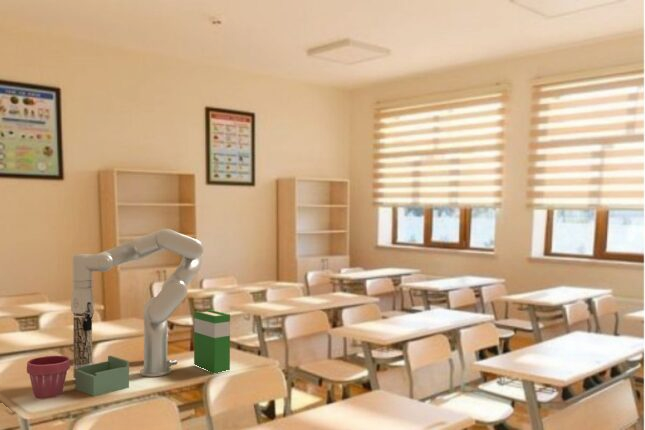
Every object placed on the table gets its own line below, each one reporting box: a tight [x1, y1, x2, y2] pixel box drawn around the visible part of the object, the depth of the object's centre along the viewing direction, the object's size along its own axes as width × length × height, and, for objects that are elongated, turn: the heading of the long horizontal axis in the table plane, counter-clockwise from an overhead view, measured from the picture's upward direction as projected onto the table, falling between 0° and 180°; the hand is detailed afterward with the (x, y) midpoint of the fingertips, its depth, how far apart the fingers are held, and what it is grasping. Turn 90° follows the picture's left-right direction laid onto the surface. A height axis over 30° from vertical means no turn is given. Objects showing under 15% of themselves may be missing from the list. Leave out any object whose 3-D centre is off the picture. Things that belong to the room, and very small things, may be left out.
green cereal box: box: [193, 309, 231, 374], centre depth 234 cm, size 18×7×24 cm, turn 42°
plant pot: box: [26, 355, 71, 400], centre depth 197 cm, size 14×14×13 cm
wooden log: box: [72, 314, 93, 379], centre depth 215 cm, size 7×7×25 cm
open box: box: [74, 355, 130, 397], centre depth 205 cm, size 14×14×10 cm
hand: (82, 329), depth 216 cm, fingers closed on wooden log, 6 cm apart
